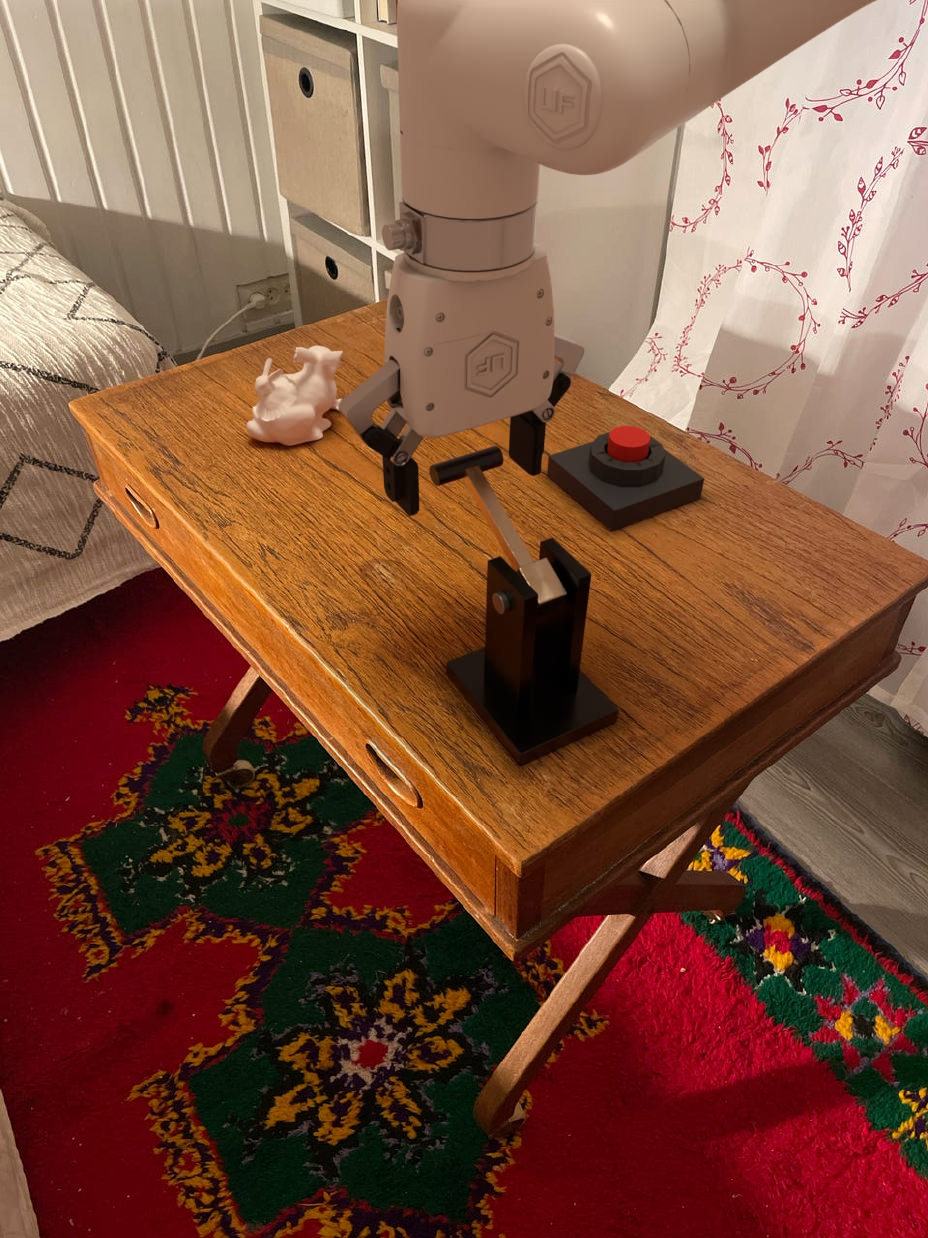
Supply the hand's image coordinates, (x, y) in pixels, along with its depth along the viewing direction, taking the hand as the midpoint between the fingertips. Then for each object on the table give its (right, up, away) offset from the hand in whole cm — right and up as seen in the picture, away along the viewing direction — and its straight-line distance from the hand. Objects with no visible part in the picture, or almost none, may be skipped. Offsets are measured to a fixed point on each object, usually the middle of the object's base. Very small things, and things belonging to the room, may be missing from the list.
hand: (465, 484), depth 66 cm
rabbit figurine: (-15, +9, +29) cm, 34 cm away
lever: (+2, -4, -2) cm, 5 cm away
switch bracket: (+5, -15, +3) cm, 16 cm away
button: (+14, +6, +20) cm, 25 cm away
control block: (+14, +3, +23) cm, 27 cm away
